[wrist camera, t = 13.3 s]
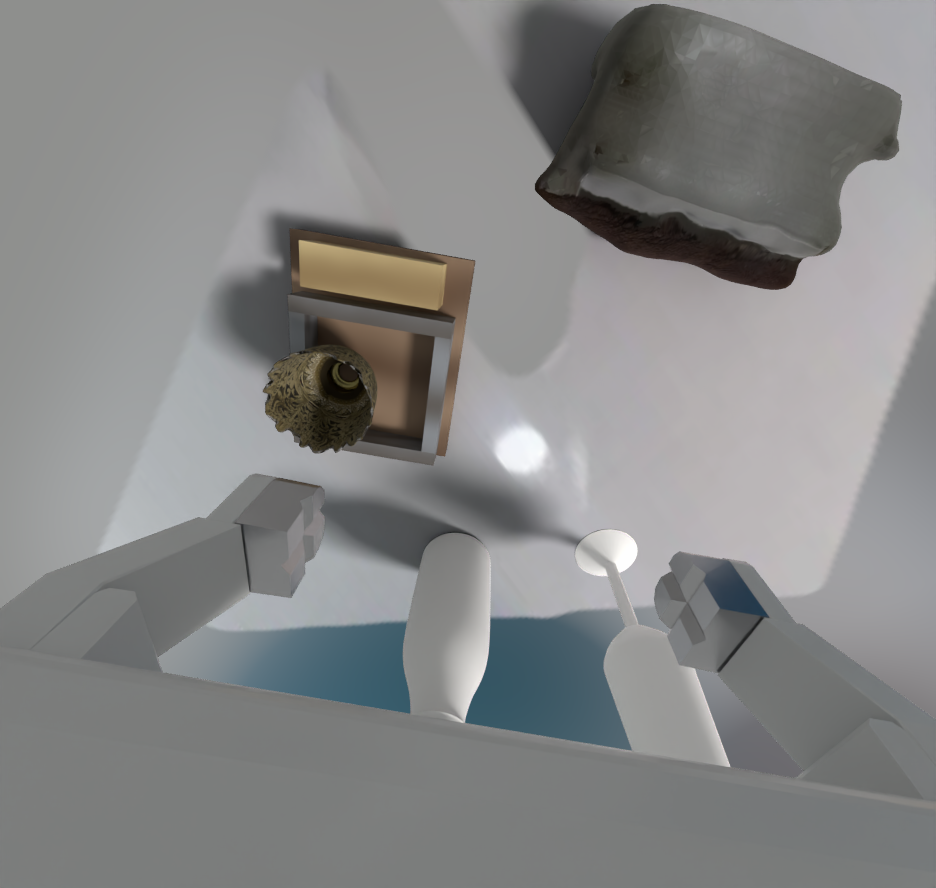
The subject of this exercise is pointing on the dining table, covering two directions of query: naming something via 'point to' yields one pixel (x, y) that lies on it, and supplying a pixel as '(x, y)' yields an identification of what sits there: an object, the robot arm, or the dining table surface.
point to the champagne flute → (649, 670)
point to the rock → (717, 146)
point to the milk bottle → (448, 627)
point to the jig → (386, 331)
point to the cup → (322, 397)
